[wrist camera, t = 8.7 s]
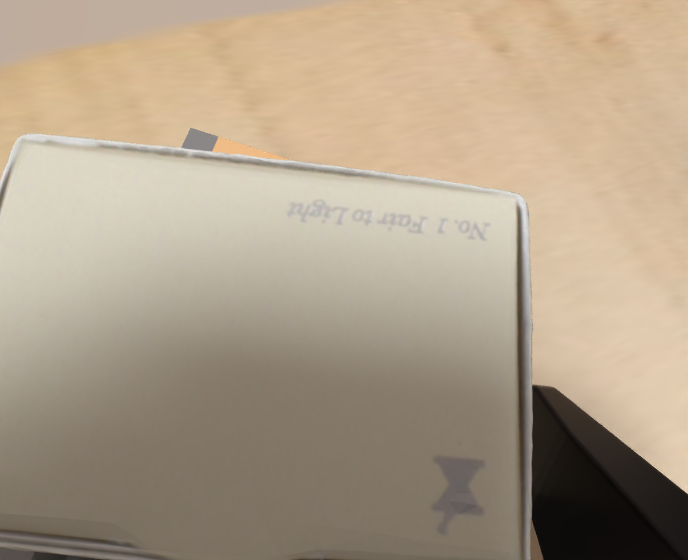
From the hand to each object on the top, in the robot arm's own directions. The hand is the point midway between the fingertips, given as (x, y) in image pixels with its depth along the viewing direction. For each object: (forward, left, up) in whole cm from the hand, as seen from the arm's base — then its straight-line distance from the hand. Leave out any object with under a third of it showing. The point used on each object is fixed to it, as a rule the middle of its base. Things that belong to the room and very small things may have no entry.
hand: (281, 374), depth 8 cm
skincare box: (0, 0, -9) cm, 9 cm away
